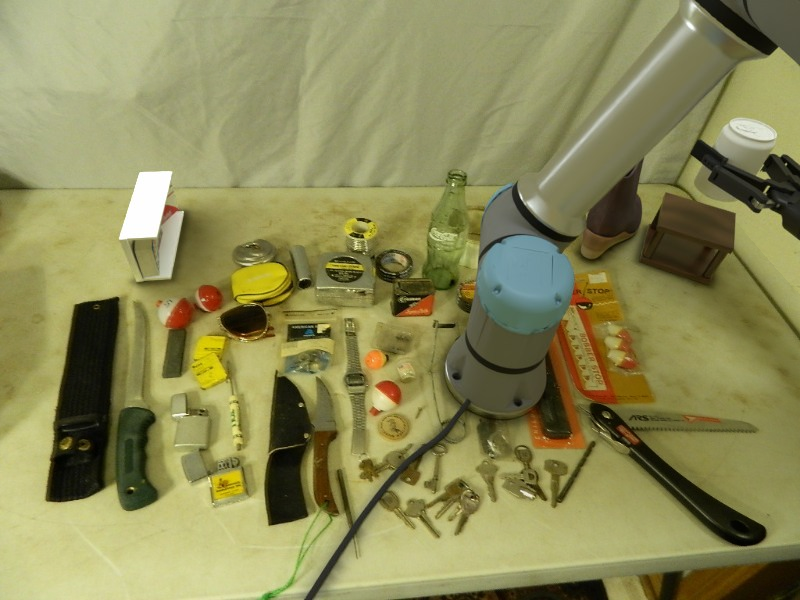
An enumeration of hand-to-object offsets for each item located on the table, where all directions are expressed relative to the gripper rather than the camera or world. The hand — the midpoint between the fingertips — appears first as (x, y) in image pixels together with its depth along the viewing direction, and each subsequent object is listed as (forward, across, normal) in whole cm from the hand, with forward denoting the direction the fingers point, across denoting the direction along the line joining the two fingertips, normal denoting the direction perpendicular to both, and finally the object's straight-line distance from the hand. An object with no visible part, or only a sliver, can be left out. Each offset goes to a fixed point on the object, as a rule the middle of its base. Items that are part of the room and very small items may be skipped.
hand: (715, 143), depth 92 cm
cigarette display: (+24, -94, -22) cm, 100 cm away
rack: (-5, 0, -22) cm, 22 cm away
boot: (+5, -10, -22) cm, 24 cm away
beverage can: (-5, 0, -7) cm, 8 cm away
